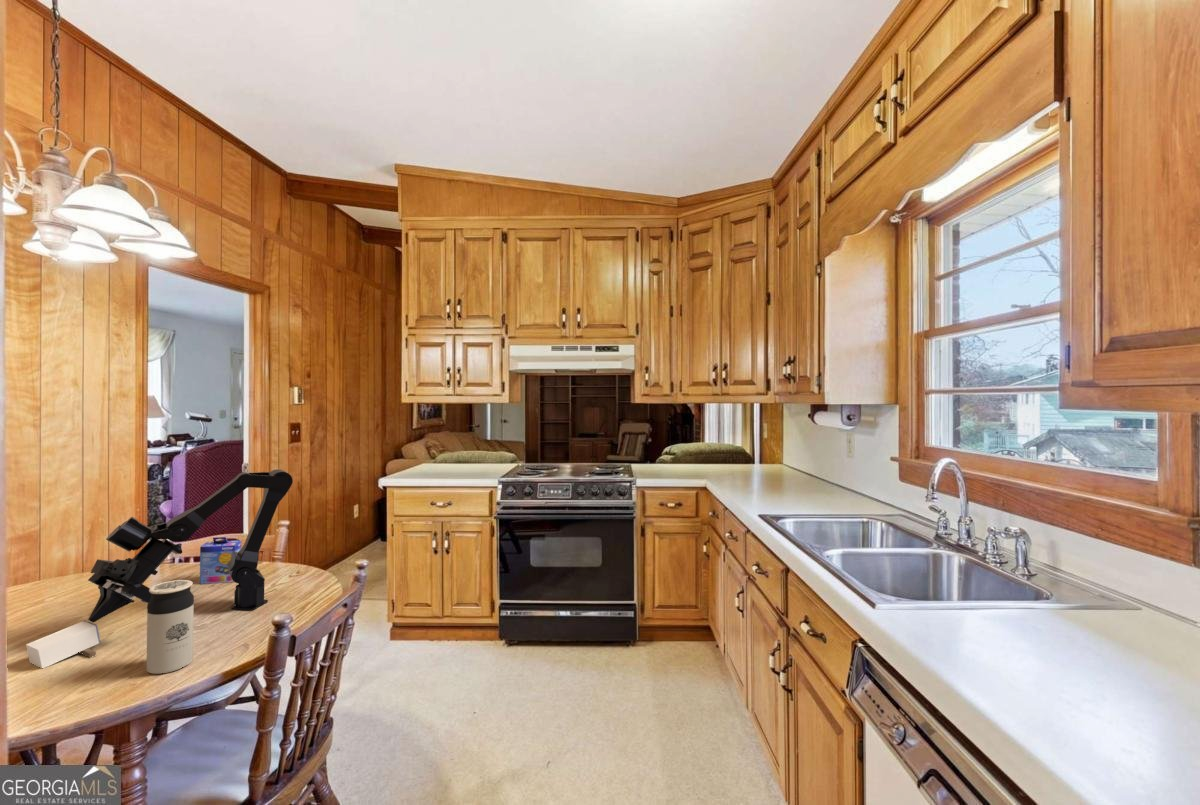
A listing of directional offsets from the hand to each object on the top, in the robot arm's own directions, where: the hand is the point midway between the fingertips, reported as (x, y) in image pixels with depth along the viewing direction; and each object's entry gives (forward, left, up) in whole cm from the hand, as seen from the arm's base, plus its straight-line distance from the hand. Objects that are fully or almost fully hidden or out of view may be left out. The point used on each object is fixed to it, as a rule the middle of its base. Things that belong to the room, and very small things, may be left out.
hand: (90, 621), depth 122 cm
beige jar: (-25, +5, -6) cm, 26 cm away
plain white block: (0, 0, -3) cm, 3 cm away
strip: (+1, +2, -6) cm, 7 cm away
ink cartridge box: (+4, -44, -7) cm, 44 cm away
